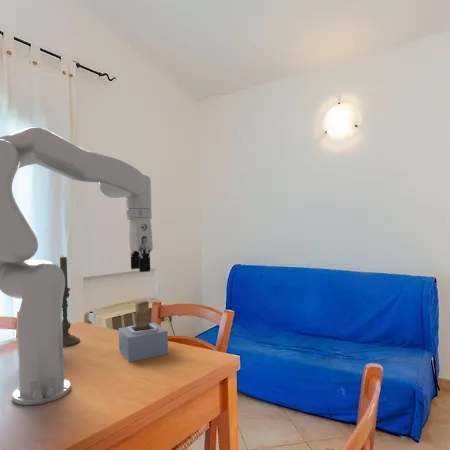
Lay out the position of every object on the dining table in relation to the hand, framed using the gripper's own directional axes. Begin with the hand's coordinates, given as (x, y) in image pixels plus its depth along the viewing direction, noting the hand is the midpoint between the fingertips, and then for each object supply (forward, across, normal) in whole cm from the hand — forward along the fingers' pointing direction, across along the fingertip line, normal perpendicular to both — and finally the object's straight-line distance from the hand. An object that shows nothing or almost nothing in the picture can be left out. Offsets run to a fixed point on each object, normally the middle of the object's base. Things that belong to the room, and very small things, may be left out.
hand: (140, 270), depth 118 cm
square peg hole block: (+26, 0, 0) cm, 26 cm away
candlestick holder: (+26, +24, +20) cm, 40 cm away
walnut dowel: (+24, 0, 0) cm, 24 cm away
